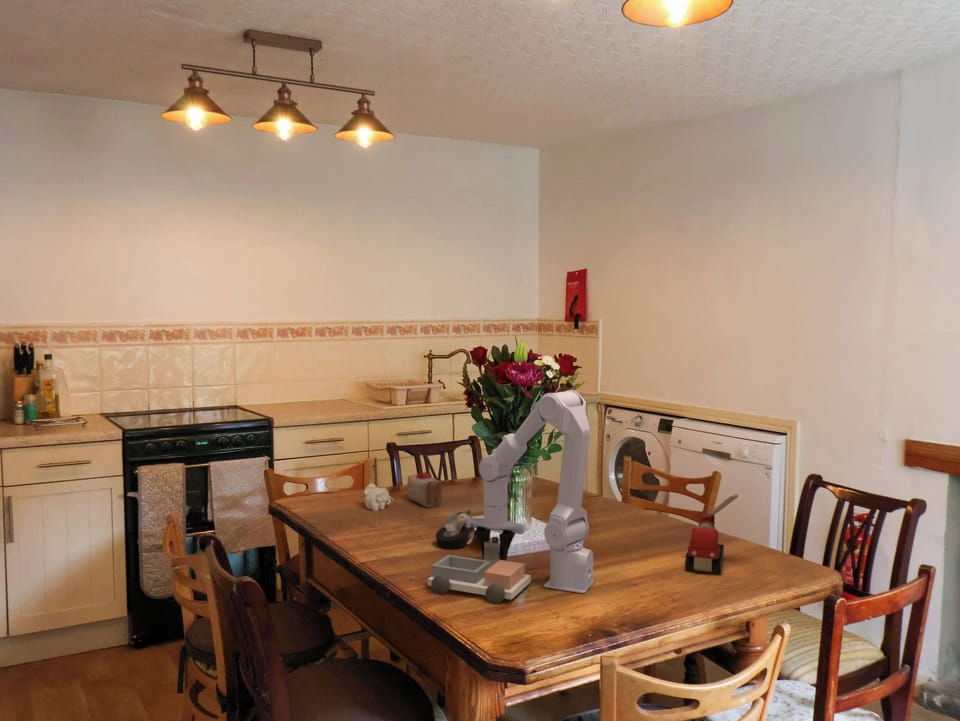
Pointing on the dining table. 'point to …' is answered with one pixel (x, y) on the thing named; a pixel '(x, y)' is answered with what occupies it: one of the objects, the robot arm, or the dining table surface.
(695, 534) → the toy fire truck
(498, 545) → the block
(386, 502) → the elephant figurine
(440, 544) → the caster wheel
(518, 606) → the dining table surface
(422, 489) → the food item
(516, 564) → the chassis
